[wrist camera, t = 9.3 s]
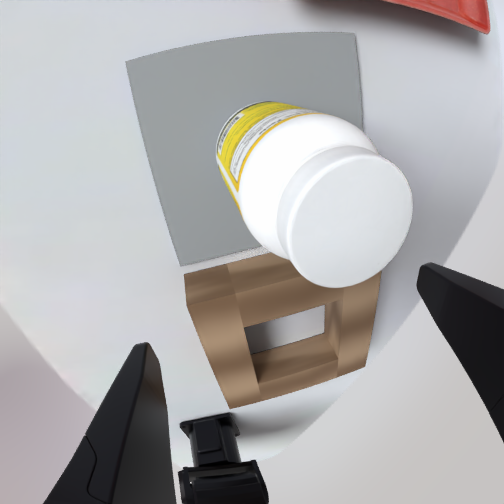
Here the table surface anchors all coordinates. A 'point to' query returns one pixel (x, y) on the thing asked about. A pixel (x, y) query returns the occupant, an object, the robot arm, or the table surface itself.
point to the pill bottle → (314, 191)
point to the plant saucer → (455, 11)
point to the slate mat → (219, 111)
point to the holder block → (269, 308)
